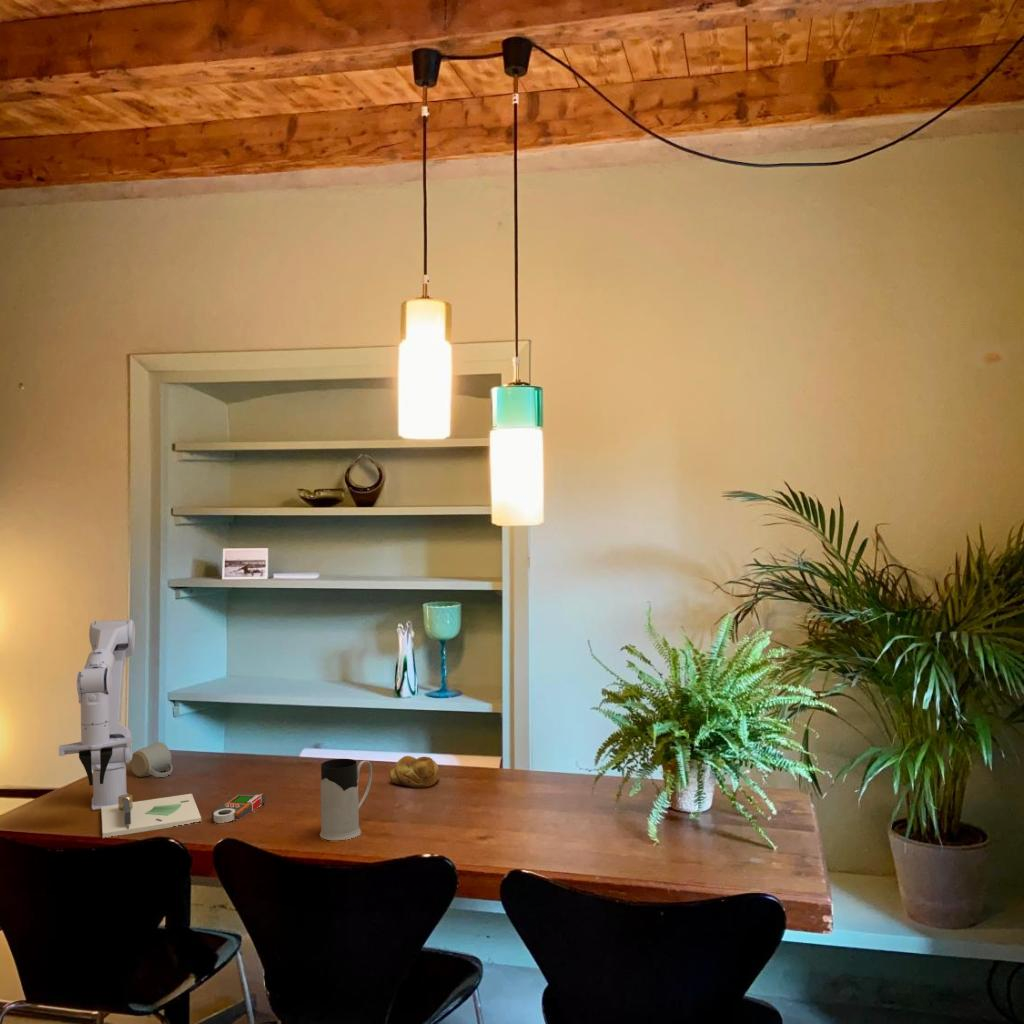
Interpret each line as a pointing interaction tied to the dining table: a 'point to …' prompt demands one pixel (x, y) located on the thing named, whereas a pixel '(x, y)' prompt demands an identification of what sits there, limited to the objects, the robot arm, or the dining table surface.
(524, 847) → the dining table surface
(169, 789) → the dining table surface
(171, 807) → the dial plate
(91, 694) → the robot arm
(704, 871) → the dining table surface
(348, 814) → the tall beer stein
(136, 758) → the ceramic mug
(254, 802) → the electronic device
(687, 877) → the dining table surface
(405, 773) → the bread roll
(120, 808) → the grey metal bar
